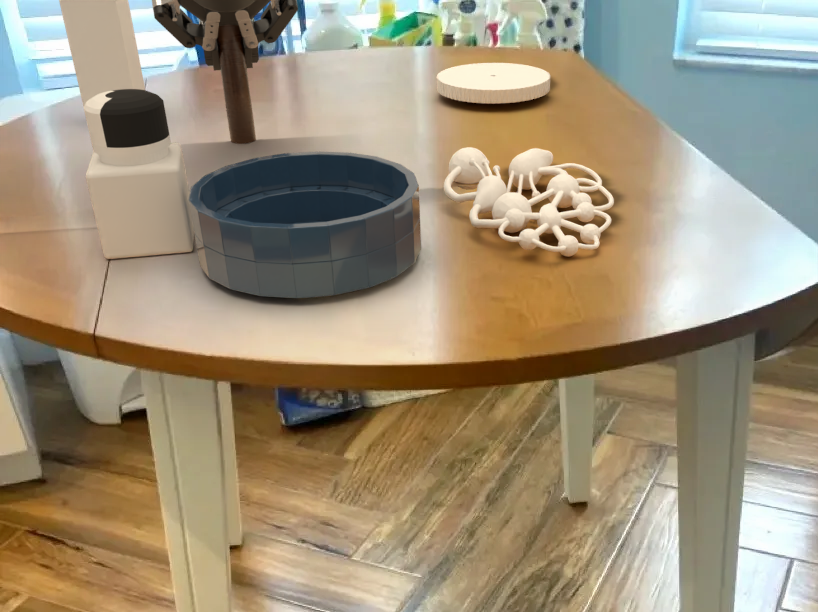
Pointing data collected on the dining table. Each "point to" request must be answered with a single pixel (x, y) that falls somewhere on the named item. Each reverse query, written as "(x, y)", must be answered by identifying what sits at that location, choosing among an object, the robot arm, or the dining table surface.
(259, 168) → the bowl
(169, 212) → the medicine bottle
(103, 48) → the milk
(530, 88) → the plastic lid
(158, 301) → the dining table surface
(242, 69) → the stick
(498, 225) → the tangled rod sculpture
